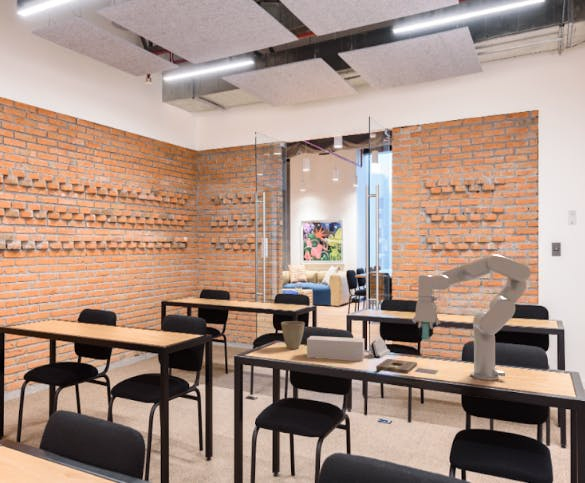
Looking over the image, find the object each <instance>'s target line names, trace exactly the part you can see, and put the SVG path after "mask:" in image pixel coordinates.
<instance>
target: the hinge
mask: <svg viewBox="0 0 585 483" xmlns="http://www.w3.org/2000/svg"><path fill="white" fill-rule="evenodd" d="M369 349H370V352H371V357H372V358H375V357H379V359H382V358H384V357H386V356H388V355H389V354H391V350H390V349H388V347H387V345H386V342H385V340H384V339H381V338H380V339H375V340H373V341H371V342H370V344H369Z"/></svg>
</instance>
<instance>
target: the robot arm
mask: <svg viewBox="0 0 585 483" xmlns="http://www.w3.org/2000/svg"><path fill="white" fill-rule="evenodd" d="M492 273H496V274H498V275H501V276H504V277H507V280H506V284H505V285H504V287H503V288H502V289H501V290H500V291H499V292H498V293H497V294H496V296H494V297H493V299H491V301H489V310H488V311H487V312H485V311H481V312H478V313H477V314H475V316H474V318H473V320H472V327H473V371H471V373H470V377H472V378H474V379H477V380H480V381H496V380H498V379H499V376H500V377H506V371H505V372H504V371H503V370H497V367H496V336H495V334H497V333H498V332H500V330H501V329H502V328H503V327H504V326H505V325H506V324H507V323H508V322H509V321H510V320H511V319H512V318H513V316H514V315H515V313H516V303H517V302H518V301H519V300H520V299H521V297H522V296H523V294H524V293H525V291H526V284H527V280H528V279H530V277H531V275H532V272H531V269H530V267H529V266H528V265H527V264H525V263H522V262H519V261H517V260H513V259H511V258H508V257H507V256H506V257H505V256H503V255H500V254H489V255H486V256H483V257H481V258H478V259H475V260H473V261H470V262H468V263H464V264H462V265H459V266H457V267H453V268H451V269H448V270H445V271H443V272H440V273H438V274H436V275H431V274H421V275H419V276H418V279H417V280H418V281H417V282H418V284H417V286H418V287H417V289H418V291H417V292H418V293H417V294H418V297H417V298H418V299H417V300H418V301H417V302H416V306H415V315H414V317H413V318H412V320H411V321H412V322H413V323H414V324H415V325H416V326H417V328H418V334H419V336H420V337H422V323H423V322H427V323H430V329H429V337H430V338H431V337H433V335H434V328H435V327H436V326H438V325H439V324H440V325H441V321H440V320H439V318H438V311H437V303H436V302H435V301H437V300H438V298H437V297H435V290H439V291H446V290H448V289H450V287H451V286H452V285H454V284H457V283H461V282H470V281H473V280H476V279H480V278H482V277H484V276H486V275H487V276H488V275H490V274H492Z"/></svg>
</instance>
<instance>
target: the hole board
mask: <svg viewBox="0 0 585 483" xmlns="http://www.w3.org/2000/svg"><path fill="white" fill-rule="evenodd" d="M417 366H418V363H417V361H416V362H415V361H410V360H409V361H408V360H400V359H392V358H391V359H390V358H385V360H383V361H381V362H380V363H379V364H377V365H376V373H380V372H381V371H388V372H395V373H403V374H409V373H410V372H411V371H412V370H414V369H415V368H416V367H417Z"/></svg>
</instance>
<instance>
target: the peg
mask: <svg viewBox="0 0 585 483" xmlns="http://www.w3.org/2000/svg"><path fill="white" fill-rule="evenodd" d="M429 329H430V323H428V322H423V323H422V336H421V339H422V340H426V341H430V340H431V337H429Z"/></svg>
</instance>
